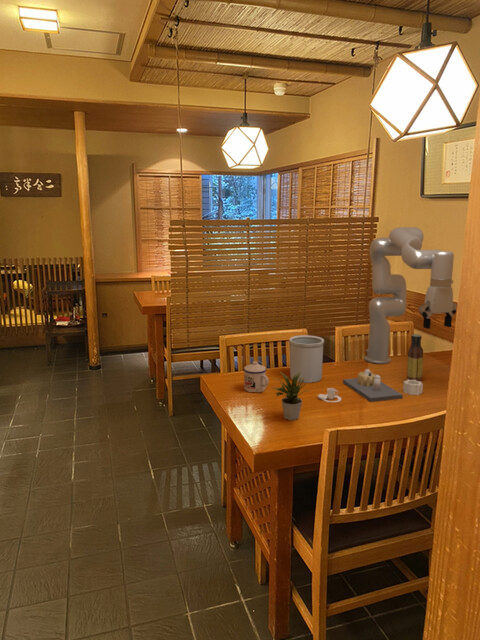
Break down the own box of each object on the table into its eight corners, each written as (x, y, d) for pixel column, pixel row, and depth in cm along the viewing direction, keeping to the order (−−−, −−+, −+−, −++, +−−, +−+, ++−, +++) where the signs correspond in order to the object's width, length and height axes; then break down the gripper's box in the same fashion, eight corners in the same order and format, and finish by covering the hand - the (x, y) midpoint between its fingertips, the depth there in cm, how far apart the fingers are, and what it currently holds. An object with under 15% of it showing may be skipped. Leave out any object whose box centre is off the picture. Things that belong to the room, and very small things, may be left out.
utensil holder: (299, 385, 191) (301, 345, 187) (282, 375, 204) (283, 337, 201) (329, 380, 197) (331, 341, 193) (310, 370, 210) (311, 333, 207)
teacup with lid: (238, 388, 187) (239, 361, 185) (254, 383, 193) (255, 357, 191) (259, 397, 178) (259, 368, 176) (275, 391, 184) (276, 363, 182)
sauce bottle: (419, 377, 202) (423, 333, 198) (423, 382, 196) (427, 337, 192) (404, 376, 202) (407, 333, 198) (407, 381, 196) (411, 336, 192)
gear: (399, 389, 187) (399, 380, 186) (414, 388, 189) (415, 378, 188) (410, 396, 180) (410, 386, 179) (426, 394, 182) (426, 384, 181)
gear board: (342, 382, 195) (343, 365, 193) (372, 379, 198) (373, 362, 197) (370, 401, 174) (371, 382, 172) (402, 398, 177) (404, 379, 176)
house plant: (278, 405, 170) (279, 363, 167) (314, 411, 165) (316, 368, 162) (265, 420, 157) (266, 375, 154) (304, 427, 152) (306, 380, 149)
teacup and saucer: (316, 401, 175) (316, 391, 175) (320, 394, 183) (321, 384, 182) (339, 404, 172) (339, 394, 171) (342, 397, 179) (343, 387, 179)
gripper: (452, 281, 181) (448, 324, 184) (415, 283, 176) (412, 326, 179) (466, 283, 173) (462, 328, 177) (428, 285, 169) (424, 330, 172)
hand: (437, 327), depth 178 cm, fingers open, 9 cm apart
